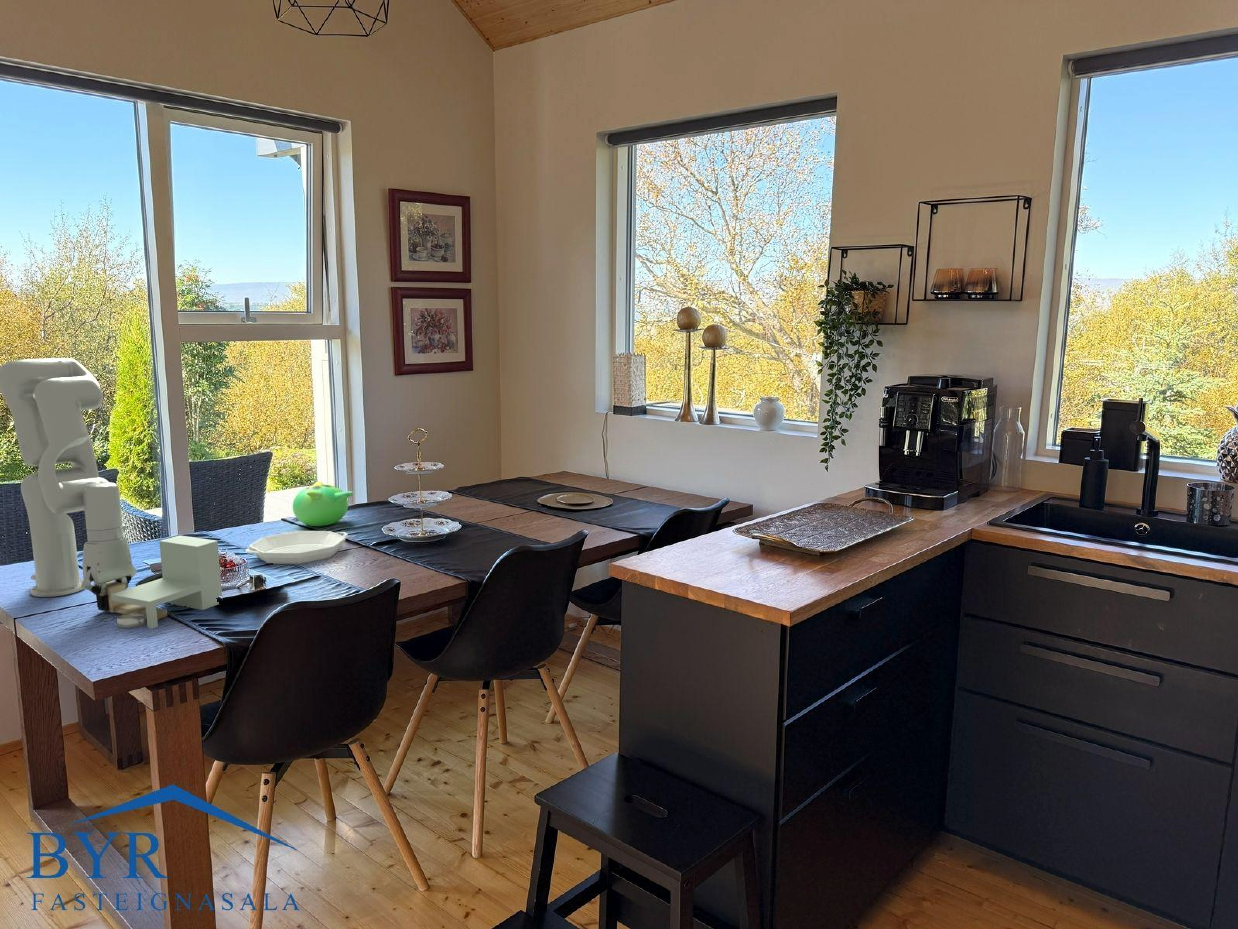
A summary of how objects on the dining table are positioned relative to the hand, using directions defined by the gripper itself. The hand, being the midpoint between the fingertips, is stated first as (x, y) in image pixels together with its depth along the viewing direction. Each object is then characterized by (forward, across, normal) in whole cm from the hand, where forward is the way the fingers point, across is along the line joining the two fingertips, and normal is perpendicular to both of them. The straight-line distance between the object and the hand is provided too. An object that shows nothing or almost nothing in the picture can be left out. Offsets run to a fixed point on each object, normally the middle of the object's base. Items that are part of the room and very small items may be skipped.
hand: (112, 606), depth 214 cm
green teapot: (+2, -89, -14) cm, 90 cm away
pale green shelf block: (+1, -5, +13) cm, 14 cm away
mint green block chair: (+2, -28, -9) cm, 30 cm away
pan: (+2, -58, +5) cm, 58 cm away
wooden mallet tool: (0, 0, +7) cm, 7 cm away
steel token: (+1, +4, +12) cm, 13 cm away
